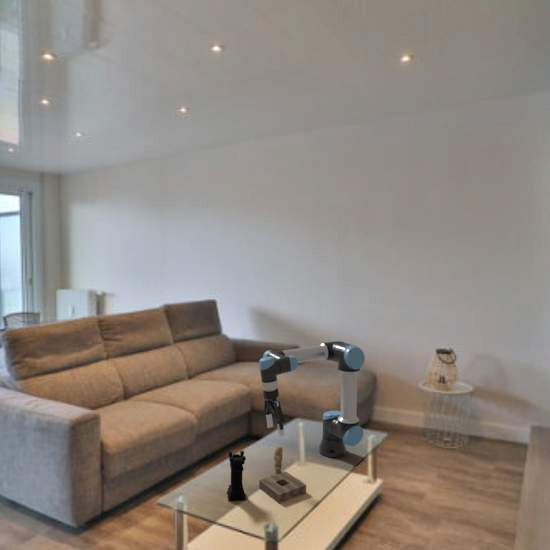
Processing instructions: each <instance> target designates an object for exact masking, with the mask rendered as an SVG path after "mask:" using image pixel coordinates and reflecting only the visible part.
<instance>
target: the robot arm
mask: <svg viewBox="0 0 550 550" xmlns="http://www.w3.org/2000/svg"><path fill="white" fill-rule="evenodd" d="M365 357H366V356H365V352H364V351H363V350H362V349H361V348H360V347H358V346H356V345H355V344H351V343H347V342H345V341H339V340H336V341H327V342H321V343H320V344H319V345H313V346H304V347H300V348H299V347H298V348H292V349H291V348H290V349H286V350H285V349H284V350H277V351H275V350H271V349H269V350H266V351H265V352H264V353H263V355H262V358H260V359H259V363H258V364H259V372H260V378H261V385H260V386H261V387H262V390H263V391H262V393H263V399H264V400H263V401H264V403H263V413H264V414H265V417H266V424H267V428H268V429H270V428H273V427H274V422H273V421H274V420H273V416H272V415H273V413H274V416H275V418H276V421H277V422H276V425H277V433H278V437H280V438H281V437H283V436H285V428H284V423H285V422H286V420H285V417H284V414H283V410H282V406H281V402H280V401H279V400H278V399H277V398H278V397H279V396H280V393H279V384H278V377H277V376H279V375H283V374H286V373H289V372H290V373H292V372H294V371H296V370H297V369H298V368H299V363H305V362H311V361H319V360H321V361H324V362H325V361H331V362H334V363H337V370H338V371H339V372H340V410H329V411H325V412H324V413H323V415H322V438H321V441H320V444H319V447H318V453H319V454H320V453H321V454H320V455H322V456H324V457H326V458H333V457H337V458H341V457H340V456H342V457H344V456H345V455H346V454H347V453H346V451H347V448H346V445H347V446H349V447H355V446H357V445H359V443H360V442H361V441H362V439H363V437H364V429H363V427H362V426H360V418H359V417H358V416H357V412H358V411H357V406H358V405H357V404H358V401H357V399H358V397H357V396H358V373H360V371H361V368H362V367H363V365H364V363H365ZM272 411H273V413H272ZM345 453H346V454H345ZM344 454H345V455H344ZM343 455H344V456H343Z"/></svg>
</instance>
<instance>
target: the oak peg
mask: <svg viewBox="0 0 550 550" xmlns="http://www.w3.org/2000/svg"><path fill="white" fill-rule="evenodd" d="M283 451H284V449H283V446H281V445H275V446H274V447H273V460H274V473H275V474H280V473H282V471H281V470H282V461H283V455H284V454H283V453H284V452H283Z"/></svg>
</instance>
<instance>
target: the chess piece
mask: <svg viewBox="0 0 550 550" xmlns="http://www.w3.org/2000/svg"><path fill="white" fill-rule="evenodd" d="M227 454H228V459H229V467H230V484H229V485H228V488H227V491H226V495H228V496H227V501H231V502H240V501H246V500H247V498H246V494H245V489H244V485H243V471H244V466H243V465H245V461H246V459H247V458H246V455H245V451H244V450H240V453H235V454H233V451H228V453H227Z"/></svg>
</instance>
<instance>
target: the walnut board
mask: <svg viewBox="0 0 550 550" xmlns="http://www.w3.org/2000/svg"><path fill="white" fill-rule="evenodd" d="M258 485H259V487H258V489H260V490H261V491H262V492H263V493H265V494H266V495H268V496H269V497H270V498H272V499H273V500H274V501H276V503H278V504H281V503H284V502H286V501H289V500H292V499H294V498H297V497H299V496H302V495H305V494H307V484H306V483H305V482H303V481H302V480H300V479H298V478H297V477H295V476H293V475H292V474H291V473H289V472H288V471H284V472H281V473H276V474H274V475H271V476H269V477H268V476H267V477H265V478H262V479H259V484H258Z"/></svg>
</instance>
